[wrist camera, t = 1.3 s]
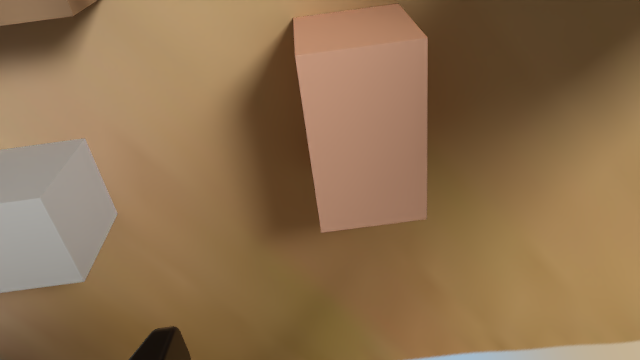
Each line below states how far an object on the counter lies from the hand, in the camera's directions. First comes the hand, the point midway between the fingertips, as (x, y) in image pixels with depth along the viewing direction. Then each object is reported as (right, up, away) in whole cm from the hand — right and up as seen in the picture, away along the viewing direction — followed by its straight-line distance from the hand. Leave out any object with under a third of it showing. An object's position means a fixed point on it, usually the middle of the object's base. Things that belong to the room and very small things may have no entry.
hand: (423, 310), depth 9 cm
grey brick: (-13, +2, +10) cm, 17 cm away
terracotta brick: (-1, +6, +9) cm, 10 cm away
